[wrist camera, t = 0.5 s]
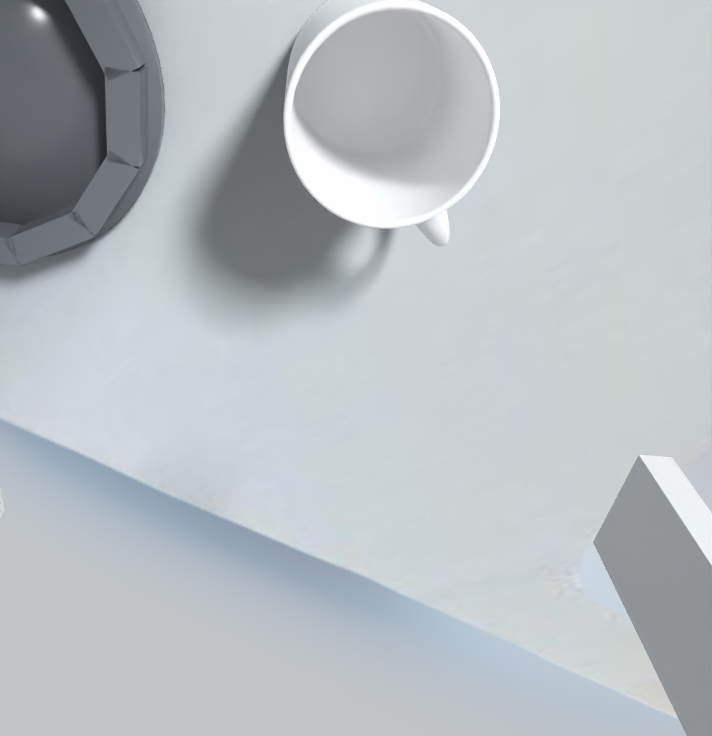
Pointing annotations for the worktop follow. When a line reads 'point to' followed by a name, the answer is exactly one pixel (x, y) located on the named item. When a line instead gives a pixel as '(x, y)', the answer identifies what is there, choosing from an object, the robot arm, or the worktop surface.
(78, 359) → the worktop surface
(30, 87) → the bowl
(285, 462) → the worktop surface
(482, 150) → the mug
